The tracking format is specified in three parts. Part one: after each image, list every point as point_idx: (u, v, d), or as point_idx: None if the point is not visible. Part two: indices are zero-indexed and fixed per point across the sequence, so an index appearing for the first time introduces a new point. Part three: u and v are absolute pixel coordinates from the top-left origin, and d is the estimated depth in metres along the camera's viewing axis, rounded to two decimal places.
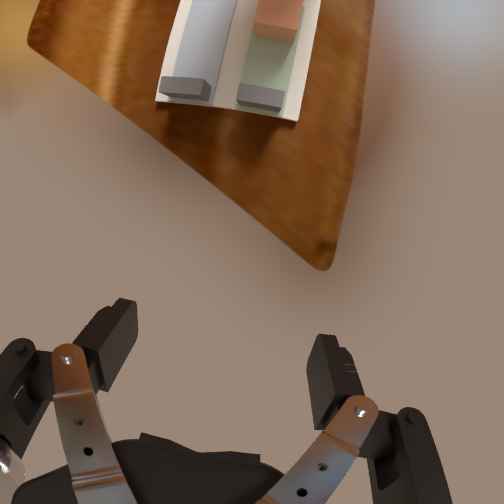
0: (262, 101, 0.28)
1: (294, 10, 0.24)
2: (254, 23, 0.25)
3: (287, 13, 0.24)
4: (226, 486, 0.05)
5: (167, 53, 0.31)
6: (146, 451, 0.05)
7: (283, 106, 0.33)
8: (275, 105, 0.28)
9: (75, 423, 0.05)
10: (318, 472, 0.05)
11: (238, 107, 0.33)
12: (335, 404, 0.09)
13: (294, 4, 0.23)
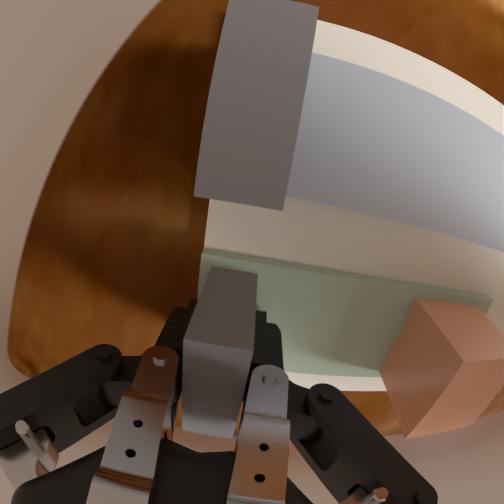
0: (190, 399, 0.09)
1: (452, 422, 0.10)
2: (458, 359, 0.08)
3: (451, 415, 0.09)
4: (226, 486, 0.05)
5: (401, 52, 0.09)
6: None
7: None
8: (185, 420, 0.09)
9: (133, 424, 0.06)
10: (263, 452, 0.06)
11: (205, 262, 0.12)
12: (250, 373, 0.09)
13: (465, 418, 0.10)
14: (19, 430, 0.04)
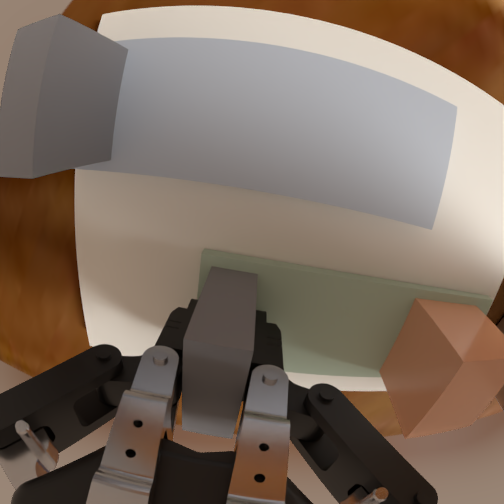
0: (190, 399, 0.09)
1: (452, 422, 0.10)
2: (458, 360, 0.08)
3: (451, 415, 0.09)
4: (226, 486, 0.05)
5: (245, 13, 0.09)
6: None
7: None
8: (185, 420, 0.09)
9: (133, 423, 0.06)
10: (263, 452, 0.06)
11: (205, 262, 0.12)
12: (250, 373, 0.09)
13: (465, 418, 0.10)
14: (19, 430, 0.04)
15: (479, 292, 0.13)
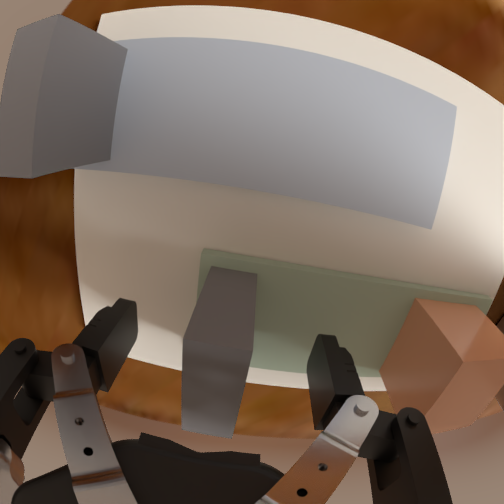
0: (190, 399, 0.09)
1: (452, 422, 0.10)
2: (458, 359, 0.08)
3: (451, 415, 0.09)
4: (226, 486, 0.05)
5: (245, 12, 0.09)
6: (146, 451, 0.05)
7: None
8: (184, 420, 0.09)
9: (75, 423, 0.05)
10: (319, 471, 0.05)
11: (204, 262, 0.12)
12: (335, 404, 0.09)
13: (465, 418, 0.10)
14: None
15: (479, 292, 0.13)
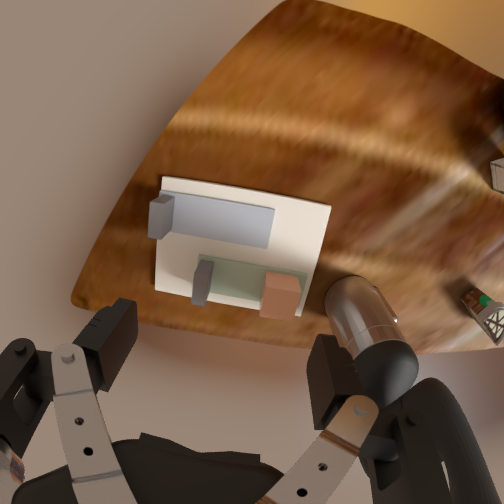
0: (194, 291, 0.40)
1: (278, 314, 0.41)
2: (265, 286, 0.40)
3: (275, 310, 0.41)
4: (226, 486, 0.05)
5: (208, 185, 0.40)
6: (146, 451, 0.05)
7: None
8: (192, 299, 0.41)
9: (75, 423, 0.05)
10: (319, 472, 0.05)
11: (199, 258, 0.44)
12: (335, 404, 0.08)
13: (285, 315, 0.41)
14: None
15: (301, 271, 0.45)
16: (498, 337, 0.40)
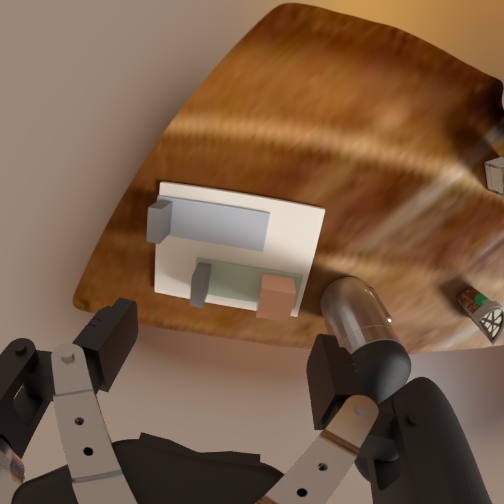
0: (192, 293, 0.41)
1: (274, 315, 0.42)
2: (261, 288, 0.41)
3: (271, 311, 0.42)
4: (226, 486, 0.05)
5: (205, 190, 0.42)
6: (146, 451, 0.05)
7: None
8: (190, 301, 0.42)
9: (75, 423, 0.05)
10: (318, 471, 0.05)
11: (197, 261, 0.45)
12: (335, 404, 0.08)
13: (281, 316, 0.42)
14: None
15: (297, 273, 0.46)
16: (494, 336, 0.41)
